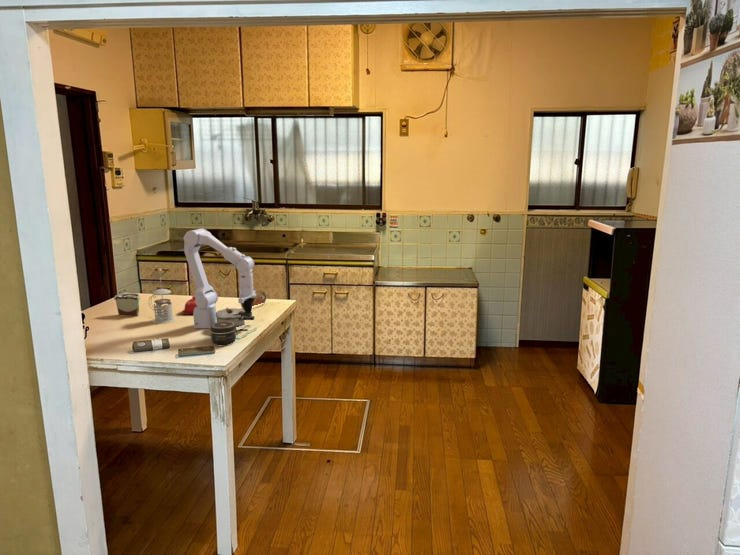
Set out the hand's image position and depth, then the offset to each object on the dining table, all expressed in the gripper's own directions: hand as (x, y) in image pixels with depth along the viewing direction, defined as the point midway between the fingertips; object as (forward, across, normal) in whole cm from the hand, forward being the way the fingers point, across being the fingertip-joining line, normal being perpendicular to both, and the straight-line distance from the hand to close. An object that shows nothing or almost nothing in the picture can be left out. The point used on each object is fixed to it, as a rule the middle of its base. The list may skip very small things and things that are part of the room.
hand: (248, 314), depth 227 cm
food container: (+7, +11, +65) cm, 66 cm away
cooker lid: (0, -1, +6) cm, 6 cm away
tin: (+8, +33, +11) cm, 35 cm away
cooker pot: (+7, 0, +6) cm, 9 cm away
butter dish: (+8, +20, +36) cm, 42 cm away
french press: (+7, +5, +45) cm, 46 cm away
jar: (+7, -18, +4) cm, 20 cm away
